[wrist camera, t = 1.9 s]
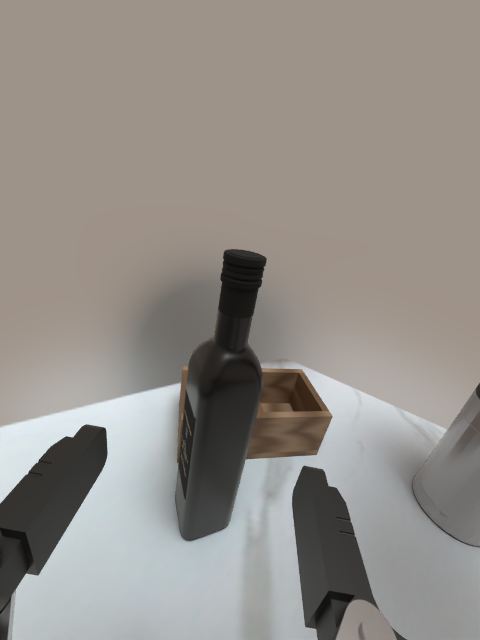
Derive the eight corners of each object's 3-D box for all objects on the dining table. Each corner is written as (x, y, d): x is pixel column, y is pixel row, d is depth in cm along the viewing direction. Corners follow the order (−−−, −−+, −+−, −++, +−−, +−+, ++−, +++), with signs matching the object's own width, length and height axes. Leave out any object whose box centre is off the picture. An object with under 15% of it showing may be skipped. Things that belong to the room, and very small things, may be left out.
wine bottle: (181, 545, 27) (219, 260, 14) (173, 491, 31) (196, 241, 19) (232, 527, 29) (302, 267, 17) (217, 479, 34) (263, 248, 21)
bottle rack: (291, 403, 49) (301, 369, 46) (316, 454, 40) (332, 416, 36) (179, 404, 45) (182, 366, 41) (177, 463, 35) (181, 419, 32)
